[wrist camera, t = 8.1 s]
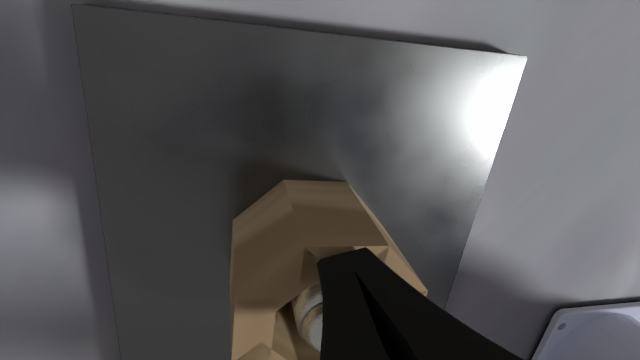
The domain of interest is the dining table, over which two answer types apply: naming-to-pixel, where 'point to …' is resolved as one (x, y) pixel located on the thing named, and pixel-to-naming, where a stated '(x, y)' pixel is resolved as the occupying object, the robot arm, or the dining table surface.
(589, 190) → the dining table surface
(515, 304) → the dining table surface
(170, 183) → the hub
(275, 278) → the ring
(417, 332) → the robot arm
